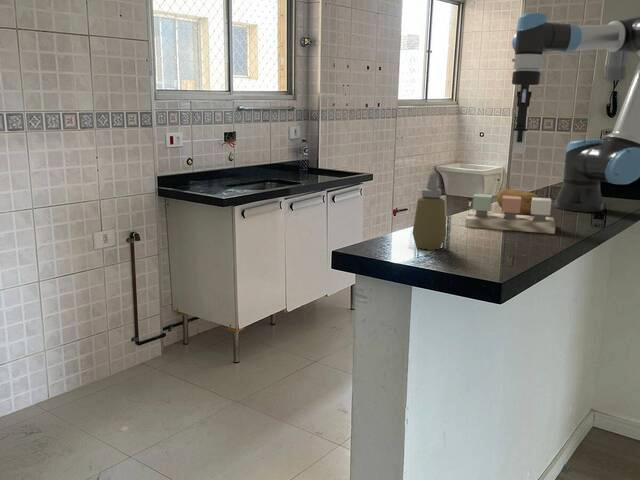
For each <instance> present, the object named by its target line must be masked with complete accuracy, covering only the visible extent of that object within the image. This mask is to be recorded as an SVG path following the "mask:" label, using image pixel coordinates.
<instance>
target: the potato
mask: <svg viewBox="0 0 640 480" xmlns="http://www.w3.org/2000/svg"><path fill="white" fill-rule="evenodd" d="M503 196H517V197H521V206H520V213H516V215H526V216H529V215H530V214H531V204H532V197H534V198H541V197H540V196H539V195H537V194H536V193H533V192H528V191H524V190H521V189H513V188H503V189H501V190H499V191H498V192H497V195H496V202H497V204H498V206H499V207H500V209H502V200H503Z"/></svg>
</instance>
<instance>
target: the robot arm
mask: <svg viewBox="0 0 640 480" xmlns="http://www.w3.org/2000/svg"><path fill="white" fill-rule="evenodd" d="M517 21H518V22H517V27H516V30H515V31H516V32H515V34H513V36H512V37H513V38H512V42H511V44H512V45H511V46H512V49H513V51H514V58H513V57H512V59H511V62H513V69H514V71H513V72H512V77H511V84H512V85H516V86H520V89H519V90H520V91H519V90H517V94H516V98H517V100H516V107H517V117H516V125H515V128H513V130H512V131H513V132H514V133H515V135H514V142H513V154H520V155H523V154H524V147H525V137H526V132H528V130H529V129H528V128H526V127H527V126H526V124H527V115H528V114H527V112H528V108H529V107H530V105H531V104H530V103H531V102H530V101H531V98H532V92H533V91H530V86H538V85H539V84H540V79H541V72H540V71H539V70H541V69H542V62H543V54H545V53H561V52H562V53H566V52H568V53H569V52H570V53H571V52H581V51H582V52H583V51H593V50H594V51H596V50H606V51H607V52H609V53H617V52H618V53H619V52H621V53H633V54H637V55H638V57H639V58H640V15H638V16H635V17H629V18H626V19H621V20H612V21H610V22H609V23H607V24H592V25H591V24H590V25H588V24H586V25H576V24H572V23H558V22H548V21H547V15H546V14H545V13H543V12H525V13H522V14H521V15H520V16H519V17H518V20H517ZM563 171H564V172H563V179H562V185H561V187H560V189H559V190H560V191H559V192H558V195H557V197H556V199H555V204H554V207H555V208H557V209H561V210H566V211H573V212H584V213H585V212H586V213H589V212H590V213H592V212H593V213H596V212H597V213H598V212H602V211H604V201H603V196H602V192H601V191H602V190H601V182H604V183H605V182H606V183H609V184H612V185H630V184H631V183H633V182H636V181H637V180H638V179H640V60H639V61H638V64H637V66H636V69H635V72H634V74H633V78H632V80H631V83H630V85H629V87H628V90H627V93H626V95H625V98H624V101H623V103H622V105H621V108H620V111H619V114H618V117H617V120H616V122H615V123H614V128H613V129H612V132H611V133H608V134H607V135H605V137H604V139H583V140H581V139H580V140H572V141H570V142H569V143H568V144H567V146H566V152H565V160H564V169H563Z"/></svg>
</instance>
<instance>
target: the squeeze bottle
mask: <svg viewBox="0 0 640 480" xmlns="http://www.w3.org/2000/svg"><path fill="white" fill-rule="evenodd" d="M428 177H429V178H428V181H427V185H426V188H425V187H424V188H422V189H421V197H418V199H417V202H416V210H415V215H414V222H413V228H412V237H413V240H414V244H415V247H416V248H417V247H418V248H417V249H420V248H422V249H421V250H424V249H427V250H426V251H436V250H435V249H437V250H439V248H440V249H441V248H442V245H443V242H444V240H445V238H446V234H447V230H446V207H445V205H446V202H445V200H444V199H443V198H442V189H440V188H438V186H437V178H436V174H435V173H430V175H429V176H428Z"/></svg>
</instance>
